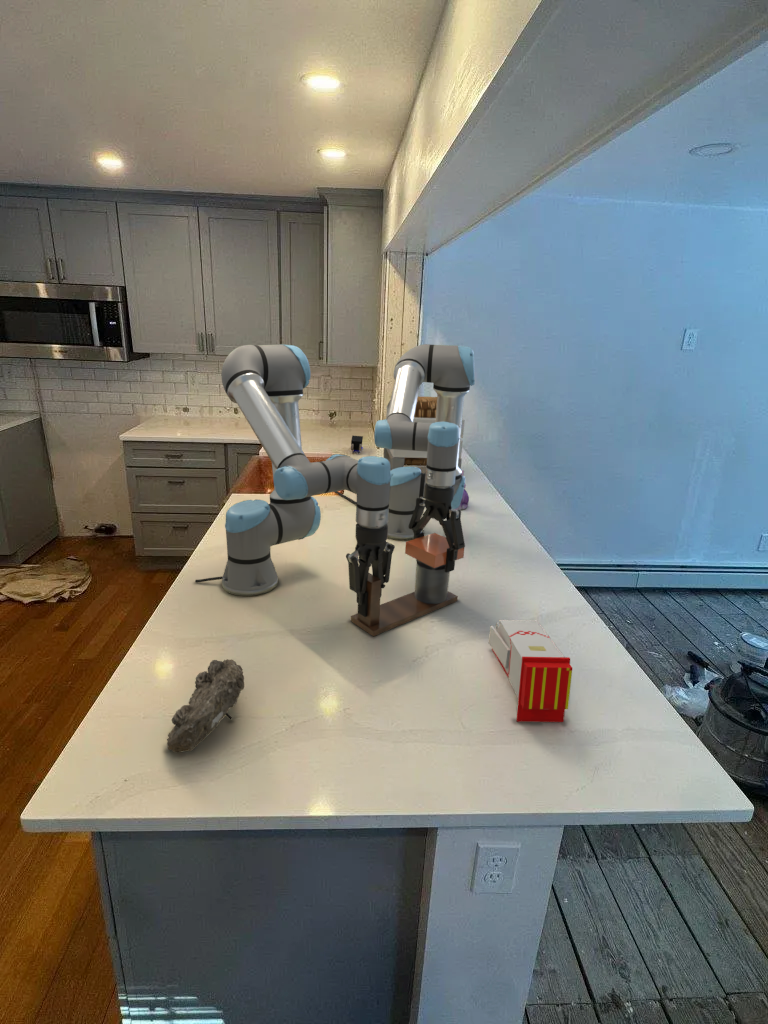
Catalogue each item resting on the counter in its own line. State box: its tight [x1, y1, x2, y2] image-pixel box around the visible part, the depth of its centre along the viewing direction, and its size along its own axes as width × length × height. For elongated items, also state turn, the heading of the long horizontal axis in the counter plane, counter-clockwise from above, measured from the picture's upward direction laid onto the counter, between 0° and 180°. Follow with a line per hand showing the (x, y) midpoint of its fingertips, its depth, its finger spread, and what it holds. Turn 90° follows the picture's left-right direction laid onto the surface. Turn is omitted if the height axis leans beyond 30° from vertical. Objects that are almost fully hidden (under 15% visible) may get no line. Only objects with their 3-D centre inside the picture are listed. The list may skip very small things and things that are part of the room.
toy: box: [488, 619, 573, 723], centre depth 122 cm, size 12×13×30 cm
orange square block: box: [404, 532, 465, 568], centre depth 150 cm, size 11×11×5 cm
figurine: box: [454, 469, 470, 511], centre depth 227 cm, size 9×10×15 cm
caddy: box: [350, 559, 459, 637], centre depth 147 cm, size 30×9×14 cm, turn 131°
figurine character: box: [350, 435, 364, 454], centre depth 309 cm, size 7×8×15 cm
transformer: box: [383, 396, 465, 471], centre depth 268 cm, size 34×33×41 cm
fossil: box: [166, 658, 245, 754], centre depth 106 cm, size 22×10×15 cm
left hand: (368, 612), depth 140 cm, fingers closed on caddy, 3 cm apart
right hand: (433, 563), depth 151 cm, fingers closed on orange square block, 11 cm apart
